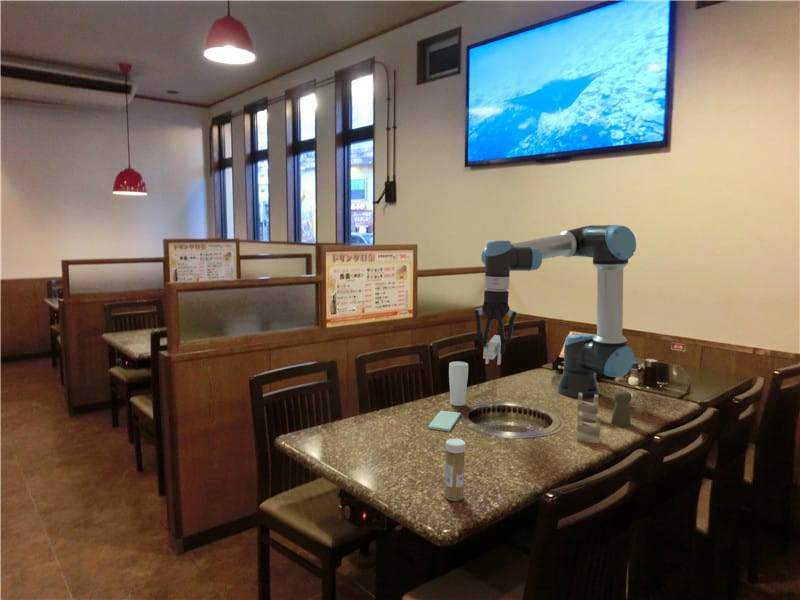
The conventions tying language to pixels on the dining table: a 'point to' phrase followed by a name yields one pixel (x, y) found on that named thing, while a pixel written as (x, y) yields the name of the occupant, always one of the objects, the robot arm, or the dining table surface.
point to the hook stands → (588, 411)
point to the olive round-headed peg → (621, 409)
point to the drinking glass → (458, 382)
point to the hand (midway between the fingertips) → (493, 363)
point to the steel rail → (491, 348)
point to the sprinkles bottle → (454, 469)
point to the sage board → (444, 421)
